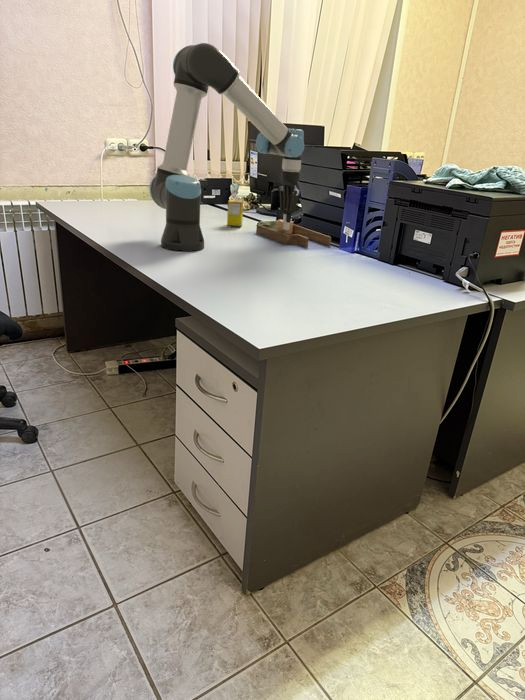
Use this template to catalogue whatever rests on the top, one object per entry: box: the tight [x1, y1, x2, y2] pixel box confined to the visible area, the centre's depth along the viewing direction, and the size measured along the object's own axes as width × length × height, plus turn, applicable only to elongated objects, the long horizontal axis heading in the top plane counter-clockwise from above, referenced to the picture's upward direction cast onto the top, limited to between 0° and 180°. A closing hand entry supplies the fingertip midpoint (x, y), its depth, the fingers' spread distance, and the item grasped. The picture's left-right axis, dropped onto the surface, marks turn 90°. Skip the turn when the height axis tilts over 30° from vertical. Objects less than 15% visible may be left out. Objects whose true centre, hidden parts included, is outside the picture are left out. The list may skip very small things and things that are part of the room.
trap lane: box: [255, 220, 332, 248], centre depth 206 cm, size 17×34×4 cm, turn 32°
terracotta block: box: [277, 219, 294, 235], centre depth 215 cm, size 5×5×5 cm
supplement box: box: [226, 198, 244, 228], centre depth 218 cm, size 6×6×11 cm
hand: (285, 229), depth 211 cm, fingers closed
